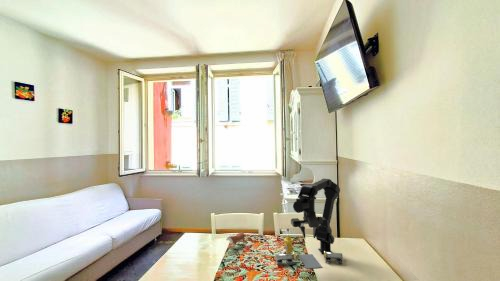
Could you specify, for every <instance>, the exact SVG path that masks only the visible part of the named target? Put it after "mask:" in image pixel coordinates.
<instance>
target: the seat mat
mask: <svg viewBox="0 0 500 281" xmlns="http://www.w3.org/2000/svg"><path fill="white" fill-rule="evenodd" d="M298 257H299V259H300V260H301V262H302V263H303V265H304V267H305V268H306V269H307V270H309V269H323V266H322V265H321V264H320V262H319V261H318V260H317V258H316V257H315V256H314V254H312V253H309V254H306V253H305V254H298Z"/></svg>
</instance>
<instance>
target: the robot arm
mask: <svg viewBox="0 0 500 281" xmlns="http://www.w3.org/2000/svg"><path fill="white" fill-rule="evenodd" d="M321 190H324V191H323V194H324V197H325V201H324V205H323V206H324V207H323V212H322V216H317V215H316V214H317V213H316V211H315V210H316V209H315V207H316V206H315V200H317V195H318V192H320V191H321ZM340 192H341V187H339V185H338V184H337V183H335V182H334V181H332V179H330V178H322V179H320V180H318V181H316V182H313V183H306V184H305V183H304V184H303V185H302V186H301V188H300V191H299V194H298V195H297V198H296V200H295V201H294V202H293V205H292V208H293V211H294V212H295V213H297V214H299V213H300V214H301V213H303V216H302V220H301V219H299V217H297V218H291V219H290V225H291V226H292V227H293V228H299V229H300V231H301V233H302V236H303V239H304V240H305V239H306V227H305V225H308V227H309V228H312V235H313V239H316V241H319V246H320V247H319V248H318V249H317V250H318V251H319V252H320V253H321V255H324V251H326V252H333V250H331V249H332V248H331V247H332V246H331V245H333V244H334V243H335V237H334V235H333V234H332V232H333V230H332V228H331V222H332V216H333V215H332V214H333V212H334V211H333V209H334V207H335V206H334V204H335V201H336V200H337V199H338V198H339V195H340Z"/></svg>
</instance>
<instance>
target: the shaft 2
mask: <svg viewBox="0 0 500 281" xmlns="http://www.w3.org/2000/svg"><path fill="white" fill-rule="evenodd" d="M323 259H325V263H327V264H331V262H332V259H333V260H335V261H336V264H337V265H343V253H340V252H333V251H332V252H326V251H324V254H323Z"/></svg>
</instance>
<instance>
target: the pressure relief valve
mask: <svg viewBox="0 0 500 281" xmlns="http://www.w3.org/2000/svg"><path fill="white" fill-rule="evenodd" d="M292 244H294V239H293V238H292V237H291V235H290V234H287V235H286V237H284V239H283V246H284V249H283V250H282V251H278V252H277V254H285V253H286V254H291V253H293V251H294V249H295V248H294V247H293V246H292Z"/></svg>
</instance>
